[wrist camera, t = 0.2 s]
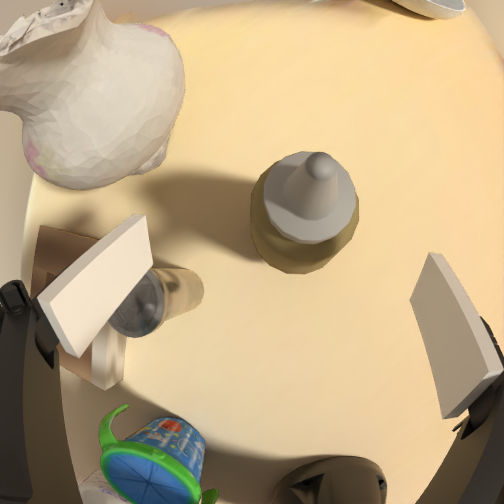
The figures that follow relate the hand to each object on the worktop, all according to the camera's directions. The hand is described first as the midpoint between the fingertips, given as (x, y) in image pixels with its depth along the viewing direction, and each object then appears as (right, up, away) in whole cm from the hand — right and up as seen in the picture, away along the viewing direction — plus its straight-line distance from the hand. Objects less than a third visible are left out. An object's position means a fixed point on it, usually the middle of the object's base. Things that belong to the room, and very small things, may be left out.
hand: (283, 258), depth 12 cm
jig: (-23, -6, +17) cm, 30 cm away
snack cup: (-10, -23, +15) cm, 29 cm away
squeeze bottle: (+3, +2, +16) cm, 16 cm away
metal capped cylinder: (-8, -4, +16) cm, 19 cm away
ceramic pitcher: (-18, +16, +19) cm, 30 cm away
